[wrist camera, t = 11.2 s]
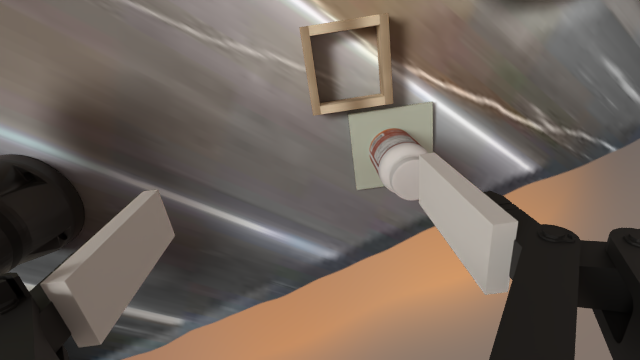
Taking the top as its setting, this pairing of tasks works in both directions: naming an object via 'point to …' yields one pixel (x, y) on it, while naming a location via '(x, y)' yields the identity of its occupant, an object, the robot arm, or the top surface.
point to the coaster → (372, 122)
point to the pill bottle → (397, 161)
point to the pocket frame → (383, 59)
